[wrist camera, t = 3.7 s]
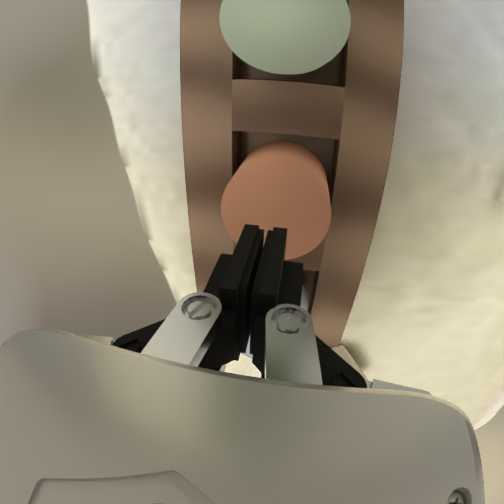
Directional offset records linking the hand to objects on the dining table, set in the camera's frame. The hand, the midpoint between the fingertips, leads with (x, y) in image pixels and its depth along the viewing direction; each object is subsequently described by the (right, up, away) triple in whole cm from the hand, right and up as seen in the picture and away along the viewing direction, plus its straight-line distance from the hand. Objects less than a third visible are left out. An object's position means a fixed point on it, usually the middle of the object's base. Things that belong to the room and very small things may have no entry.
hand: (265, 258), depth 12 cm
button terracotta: (+1, +4, +5) cm, 7 cm away
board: (+2, +6, +8) cm, 10 cm away
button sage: (+1, +12, 0) cm, 12 cm away
